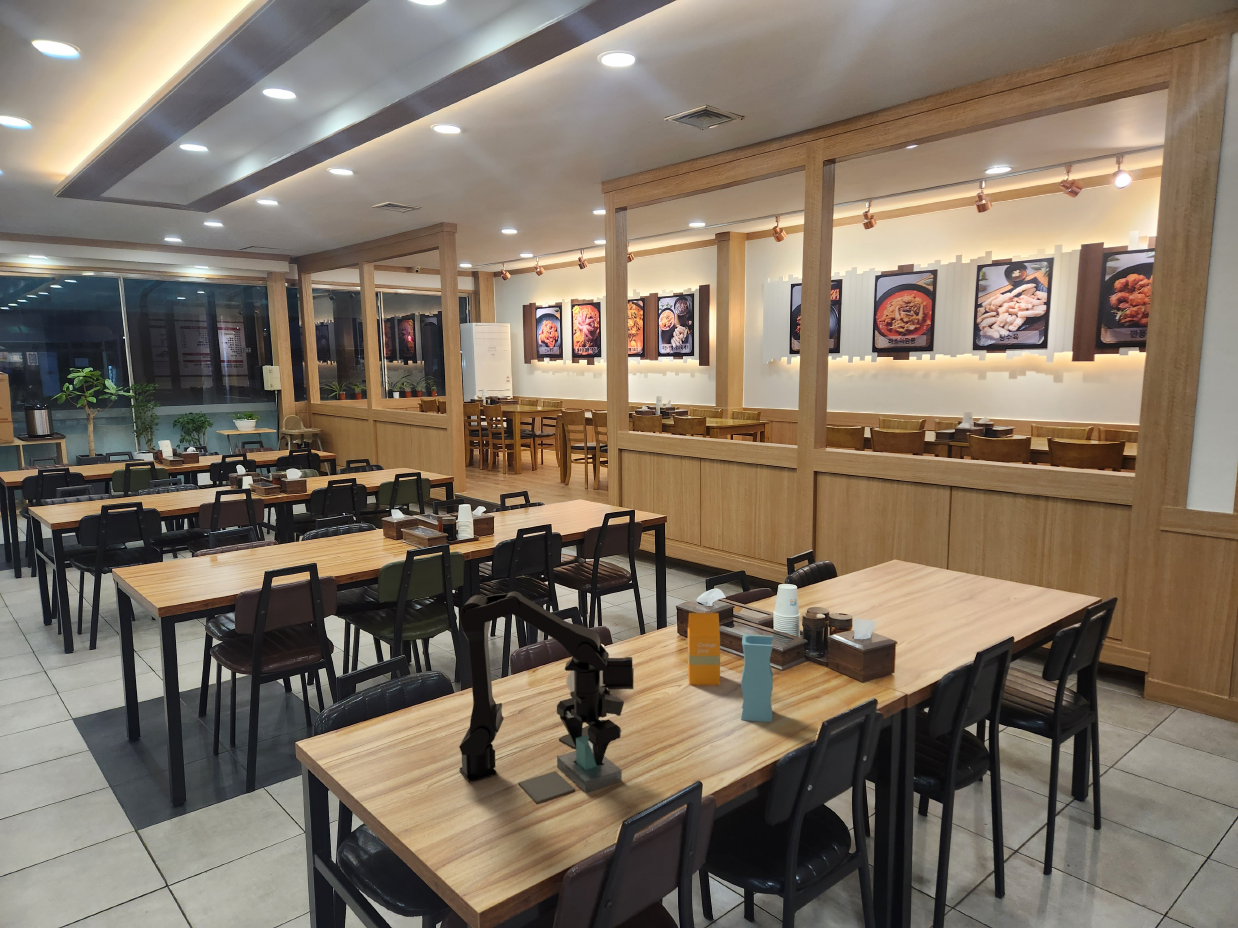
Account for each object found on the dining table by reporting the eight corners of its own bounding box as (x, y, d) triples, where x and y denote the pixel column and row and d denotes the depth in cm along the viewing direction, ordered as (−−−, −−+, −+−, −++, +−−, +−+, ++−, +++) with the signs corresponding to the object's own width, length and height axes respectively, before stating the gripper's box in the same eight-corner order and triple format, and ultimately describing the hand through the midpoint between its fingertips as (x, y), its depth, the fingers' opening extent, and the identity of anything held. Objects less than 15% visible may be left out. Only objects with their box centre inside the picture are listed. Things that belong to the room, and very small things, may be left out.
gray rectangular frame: (585, 792, 159) (585, 781, 159) (557, 766, 170) (557, 756, 170) (621, 780, 164) (621, 769, 164) (591, 755, 175) (591, 745, 175)
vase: (772, 722, 191) (773, 646, 189) (741, 719, 193) (741, 644, 191) (772, 709, 199) (773, 635, 197) (742, 706, 201) (742, 634, 198)
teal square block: (585, 780, 164) (584, 745, 164) (576, 772, 168) (575, 737, 167) (601, 774, 166) (600, 740, 166) (592, 767, 170) (591, 733, 169)
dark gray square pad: (536, 803, 155) (536, 801, 155) (518, 784, 163) (518, 782, 163) (574, 790, 160) (574, 788, 160) (555, 772, 168) (555, 770, 168)
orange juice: (720, 684, 215) (720, 616, 213) (689, 684, 216) (689, 617, 214) (717, 674, 223) (717, 608, 221) (687, 674, 223) (687, 608, 221)
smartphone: (556, 738, 183) (602, 718, 193) (556, 741, 183) (603, 721, 193) (575, 748, 178) (622, 727, 188) (576, 752, 178) (622, 731, 188)
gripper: (641, 694, 161) (641, 763, 163) (597, 667, 177) (598, 730, 179) (596, 706, 156) (597, 778, 157) (555, 677, 171) (556, 743, 173)
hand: (588, 756), depth 167 cm, fingers open, 9 cm apart
